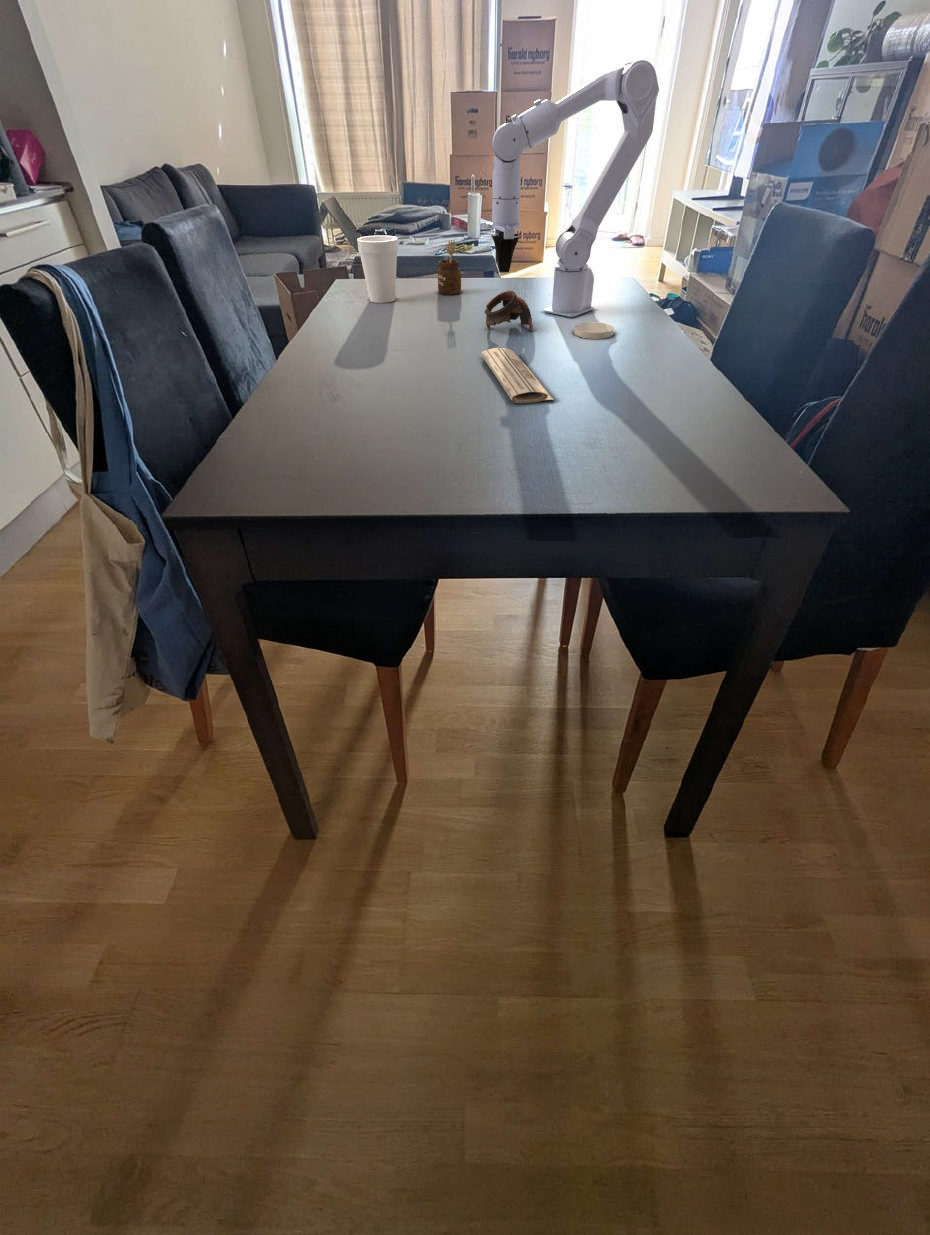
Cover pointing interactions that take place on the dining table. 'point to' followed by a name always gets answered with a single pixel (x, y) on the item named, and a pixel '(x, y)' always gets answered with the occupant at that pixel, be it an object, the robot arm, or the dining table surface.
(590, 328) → the tan round disc
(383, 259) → the foam cup
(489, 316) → the brown curved piece
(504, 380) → the newspaper
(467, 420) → the dining table surface
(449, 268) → the utensil holder
